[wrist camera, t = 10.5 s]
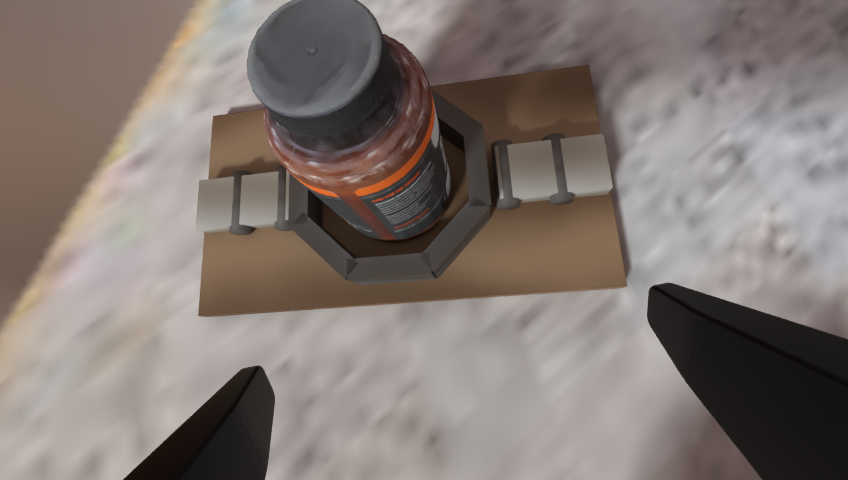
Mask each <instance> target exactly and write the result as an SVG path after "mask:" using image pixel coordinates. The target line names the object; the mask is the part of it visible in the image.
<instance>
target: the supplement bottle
mask: <svg viewBox="0 0 848 480" xmlns="http://www.w3.org/2000/svg"><path fill="white" fill-rule="evenodd" d="M247 74H248V79H249V82H250V84H251V87H252V90H253V92H254V93H255V95H256V96H257V98H258V99H259V100H260V101H261V102H262V103H263V105H264V106H265V110H264V124H265V130H266V135H267V139H268V142H269V144H270V146H271V148H272V150H273V152H274V154H275V155H276V157H277V158H278V160H279V161H280V162H281V163H282V165H283V166H284V167H285V168H286V169H287V171H288V172H289V173H290V174H291V175H293V176H294V177H295V178H296V179H297V180H299V181H300V182H301V183H302V184H303V185H304V186H305V187H306V188H307V189H309V190H310V191H311V192H312V193H313V194H314V195H316V196H317V197H318V198H319V199H320V200H322V201H323V202H324V203H325V204H326V205H328V206H329V207H330V208H331V209H332V210H333V211H335V212H336V213H337V214H338V215H340V216H341V217H342V218H343V219H344V220H346V221H347V222H348V223H349V224H350V225H351V226H353V227H354V228H355V229H357V230H358V231H359V232H361V233H363V234H364V235H366V236H367V237H370V238H372V239H375V240H378V241H382V242H391V243H393V242H404V241H409V240H412V239H414V238H417V237H419V236H420V235H422V234H424V233H426V232H427V231H428V230H430V229H431V228H432V227H433V226H434V225H435V224H436V223H437V222H438V221H439V219H440V218H441V217H442V215H443V213H444V212H445V210H446V208H447V205H448V201H449V197H450V192H451V180H450V172H449V167H448V163H447V158H446V153H445V150H444V145H443V141H442V137H441V132H440V127H439V122H438V119H437V115H436V110H435V105H434V101H433V97H432V92H431V88H430V85H429V82H428V80H427V77H426V75H425V73H424V71H423V69H422V67H421V65H420V63H419V61H418V60H417V59H416V57H415V56H414V55H413V54H412V52H410V51H409V50H408V49H407V48H406V47H405V46H404V45H403V44H401V43H399V42H398V41H397V40H395V39H393V38H391V37H389V36H387V35H385V34H382V32H381V29H380V27H379V25H378V23H377V20H376V18H375V17H374V16H373V14H372V13H371V12H370V11H369V9H368V8H366V7H365V6H364V5H363V4H362V3H360V2H359V1H357V0H292V1H290V2H288V3H286V4H284V5H283V6H281V7H280V8H278V9H277V10H276V11H274V12H273V13H272V14H271V15H270V16H269V18H268V19H267V20H266V21H265V22H264V23H263V24H262V26H261V27H260V28H259V29H258V30H257V32H256V35H255V37H254V38H253V40H252V42H251V45H250V48H249V52H248V59H247Z"/></svg>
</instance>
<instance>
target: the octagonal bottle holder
mask: <svg viewBox="0 0 848 480" xmlns="http://www.w3.org/2000/svg"><path fill="white" fill-rule="evenodd" d="M430 88H431V92H432V97H433V101H434V105H435V110H436V115H437V119H438V122H439V127H440V132H441V137H442V141H443V145H444V150H445V153H446V158H447V163H448V167H449V172H450V180H451V192H450V197H449V201H448V205H447V208H446V210H445V212H444V213H443V215H442V217H441V218H440V219H439V221H438V222H437V223H436V224H435V225H434V226H433V227H432V228H431V229H430V230H428V231H427V232H426V233H424V234H422V235H420V236H419V237H417V238H414V239H412V240H409V241H404V242H393V243H391V242H382V241H378V240H375V239H372V238H370V237H367V236H366V235H364V234H363V233H361V232H359V231H358V230H357V229H355V228H354V227H353V226H351V225H350V224H349V223H348V222H347V221H346V220H344V219H343V218H342V217H341V216H340V215H338V214H337V213H336V212H335V211H333V210H332V209H331V208H330V207H329V206H328V205H326V204H325V203H324V202H323V201H322V200H320V199H319V198H318V197H317V196H316V195H314V194H313V193H312V192H311V191H310V190H309V189H307V188H306V187H305V186H304V185H303V184H302V183H301V182H300V181H299V180H297V179H296V178H295V177H294V176H293V175H291V174H290V173H289V172H288V171H287V169H286V168H285V167H284V166H283V165H282V163H281V162H280V161H279V160H278V158H277V157H276V155H275V154H274V152H273V150H272V148H271V146H270V144H269V142H268V139H267V135H266V130H265V124H264V110H265V109H262V110H254V111H247V112H240V113H232V114H225V115H218V116H213V124H212V138H211V152H210V165H209V179H208V180H200V181H199V193H198V206H197V219H196V229H197V230H200V231H203V232H205V233H204V247H203V260H202V274H201V288H200V301H199V315H198V316H204V317H212V316H226V315H241V314H255V313H269V312H284V311H298V310H313V309H327V308H341V307H356V306H370V305H384V304H399V303H413V302H428V301H442V300H456V299H471V298H485V297H499V296H514V295H528V294H542V293H557V292H571V291H586V290H600V289H614V288H623V287H626V286H627V282H626V276H625V271H624V265H623V259H622V253H621V248H620V242H619V236H618V230H617V225H616V219H615V213H614V207H613V202H612V196H611V189H612V188H613V185H612V179H611V173H610V168H609V162H608V156H607V150H606V145H605V139H604V134H601V133H600V127H599V121H598V115H597V109H596V104H595V98H594V92H593V86H592V81H591V75H590V69H589V65H584V66H576V67H569V68H562V69H554V70H547V71H540V72H532V73H525V74H518V75H510V76H503V77H496V78H489V79H481V80H474V81H467V82H459V83H452V84H445V85H437V86H430Z"/></svg>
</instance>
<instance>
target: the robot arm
mask: <svg viewBox="0 0 848 480" xmlns="http://www.w3.org/2000/svg"><path fill="white" fill-rule="evenodd" d="M647 318H648V322H649V324H650V326H651V328H652V330H653V331H654V333H655V334H656V336H657V338H658V339H659V341H660V342H661V344H662V345H663V347H664V349H665V350H666V352H667V353H668V355H669V357H670V358H671V360H672V361H673V363H674V364H675V366H676V368H677V369H678V371H679V372H680V374H681V375H682V377H683V378H684V380H685V381H686V383H687V384H688V385H689V387H690V388H691V389H692V391H693V392H694V393H695V395H696V396H697V397H698V398H699V400H700V401H701V402H702V403H703V405H704V406H705V407H706V409H707V410H708V411H709V412H710V414H711V415H712V416H713V417H714V419H715V420H716V421H717V422H718V424H719V425H720V426H721V428H722V429H723V430H724V431H725V433H726V434H727V435H728V436H729V438H730V439H731V440H732V442H733V443H734V444H735V445H736V447H737V448H738V449H739V450H740V452H741V453H742V454H743V456H744V457H745V458H746V459H747V461H748V462H749V463H750V464H751V466H752V467H753V468H754V470H755V471H756V472H757V473H758V475H759V476H760V477H761V478H762V480H848V339H845V338H842V337H839V336H836V335H833V334H830V333H827V332H823V331H820V330H817V329H814V328H811V327H808V326H805V325H801V324H798V323H795V322H792V321H789V320H786V319H783V318H779V317H776V316H773V315H770V314H767V313H764V312H761V311H757V310H754V309H751V308H748V307H745V306H742V305H739V304H735V303H732V302H729V301H726V300H723V299H720V298H717V297H714V296H710V295H707V294H704V293H701V292H698V291H695V290H692V289H688V288H685V287H682V286H679V285H676V284H673V283H663V284H659V285H654V286H652V287H651V288H650V290H649V296H648V309H647ZM274 405H275V395H274V391H273V389H272V387H271V384H270V382H269V380H268V378H267V376H266V373H265V371H264V369H263V368H262V367H261V366H253V367H248V368H243V369H241V370H240V371H239V372H238V373H237V374H236V375H235V376H233V377H232V378H231V379H230V380H229V381H228V382H227V383H226V384H225V385H224V386H223V387H222V388H221V389H220V390H218V391H217V392H216V393H215V394H214V395H213V396H212V397H211V398H210V399H209V400H208V401H207V402H206V403H205V404H203V405H202V406H201V407H200V408H199V409H198V410H197V411H196V412H195V413H194V414H193V415H192V416H191V417H190V418H189V419H187V420H186V421H185V422H184V423H183V424H182V425H181V426H180V427H179V428H178V429H177V430H176V431H175V432H174V433H172V434H171V435H170V436H169V437H168V438H167V439H166V440H165V441H164V442H163V443H162V444H161V445H160V446H159V447H157V448H156V449H155V450H154V451H153V452H152V453H151V454H150V455H149V456H148V457H147V458H146V459H145V460H144V461H142V462H141V463H140V464H139V465H138V466H137V467H136V468H135V469H134V470H133V471H132V472H131V473H130V474H129V475H127V476H126V477H125V478H124V479H123V480H265V477H266V472H267V466H268V459H269V450H270V441H271V432H272V423H273V414H274Z"/></svg>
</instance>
